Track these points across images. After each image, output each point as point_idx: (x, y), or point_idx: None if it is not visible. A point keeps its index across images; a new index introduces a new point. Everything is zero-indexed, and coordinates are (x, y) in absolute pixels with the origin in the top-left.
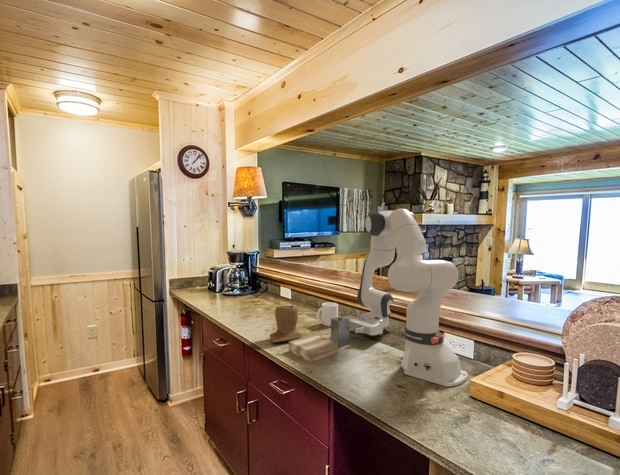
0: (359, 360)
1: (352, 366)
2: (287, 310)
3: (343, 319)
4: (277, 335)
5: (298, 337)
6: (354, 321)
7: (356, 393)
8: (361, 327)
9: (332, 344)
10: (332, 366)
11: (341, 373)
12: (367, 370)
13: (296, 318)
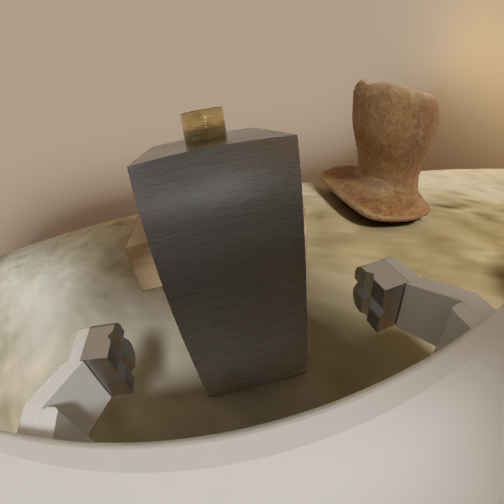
0: (41, 320)
1: (46, 287)
2: (354, 90)
3: (157, 150)
4: (343, 170)
5: (352, 206)
6: (352, 439)
7: (16, 257)
8: (52, 406)
9: (134, 233)
10: (92, 254)
11: (58, 259)
12: (9, 304)
13: (378, 131)
